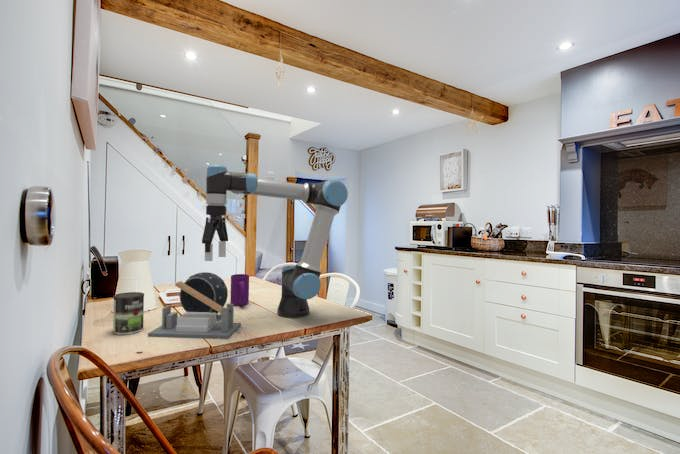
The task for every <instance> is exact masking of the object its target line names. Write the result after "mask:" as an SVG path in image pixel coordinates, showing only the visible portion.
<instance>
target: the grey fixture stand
mask: <svg viewBox="0 0 680 454" xmlns="http://www.w3.org/2000/svg"><path fill="white" fill-rule="evenodd" d="M171 307H172V305H171V304H169V305H166V306H165V307H163V308H162V309H161V311H162V312H161V316H162V318H161V324H162V325H160V326H157V328H155V329H152V330H151V331H150V332H148V333H147V337H153V338H154V337H155V338H188V339H217V338H220V340H222V339H224V340H228V339H230V338H231V336H232V335H234V333H235V332H236V331H238V329H240V327H241V326H242V325H241V322H234V316H235V315H234V310H235V309H234V307H235V306H234V304H230V303H227V304H226V307H224V308H221V313H220V314H221V315H220V317H221V318H220V319H221V320H220V321H219V322H218V319H217V313H208V312H186V311H185V312H184V313H183V314H182V315H179V316H178V313H179V312H178V311H172V309H171ZM229 310H231V311H232V313H231V314H230V315H229ZM171 311H172V312H171Z"/></svg>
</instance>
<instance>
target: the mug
mask: <svg viewBox="0 0 680 454" xmlns="http://www.w3.org/2000/svg"><path fill="white" fill-rule="evenodd" d="M249 293H250V275H249V274H245V273H244V274H242V273H238V274H237V273H236V274H232V275H230V303H229V304H234V307H242V306H244V307H245V306H247V305H248V304H249V299H250V294H249Z"/></svg>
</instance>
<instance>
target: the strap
mask: <svg viewBox="0 0 680 454" xmlns="http://www.w3.org/2000/svg"><path fill="white" fill-rule="evenodd" d="M174 286H175V287H177V288H178V289H180V290H181V289H182V290H183V291H185V292H187V293H188V294H190V295H192V296H193V297H195V298H196V299H198V300H200V301H201V302H203V303H205V304H206V305H208V306H210V307H211V308H213V309H214V310H216V311H218V313H219V314H221V308H225V306H224V307H222V306H221V305H219V304H217V303H216V302H214V301H212V300H211V299H209V298H208V297H206V296H204V295H203V294H201V293H199V292H198V291H196V290H194V289H193V288H191V287H190V286H188V285H186V284H185V282H183V281H181V280H180V281H177V282H176V283H175V284H174ZM231 313H232V311H231V310H229V315H230V314H231Z"/></svg>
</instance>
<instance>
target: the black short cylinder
mask: <svg viewBox="0 0 680 454" xmlns="http://www.w3.org/2000/svg"><path fill="white" fill-rule="evenodd" d="M184 283H185V284H186V285H188V286H190V287H191V288H193V289H194V290H196V291H198V292H199V293H201V294H203V295H204V296H206V297H208V298H209V299H211V300H212V301H214V302H216V303H217V304H219V305H221V306H222V307H224V308H225V305H226V303H227V300H228V293H229V292H228V291H229V290H228V287H227V285H226V283H225V280H224V279H223V278H222V277H220V276H219V275H218V274H215V273H212V272H207V271H206V272H205V271H203V272H198V273H195V274H193V275H190V276H189V277H188V278H187V279H186V280H185V282H184ZM179 292H180V293H179V302H180V305H181V307H182V308H183V310H184V312H185V313H186V312H208V313H216V314H218V313H219V312H218V311H216V310H214V309H213V308H211V307H210V306H208V305H206V304H205V303H203V302H201V301H200V300H198V299H196V298H195V297H193V296H192V295H190V294H188V293H187V292H185V291H183V290H182V289H180V290H179Z"/></svg>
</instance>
